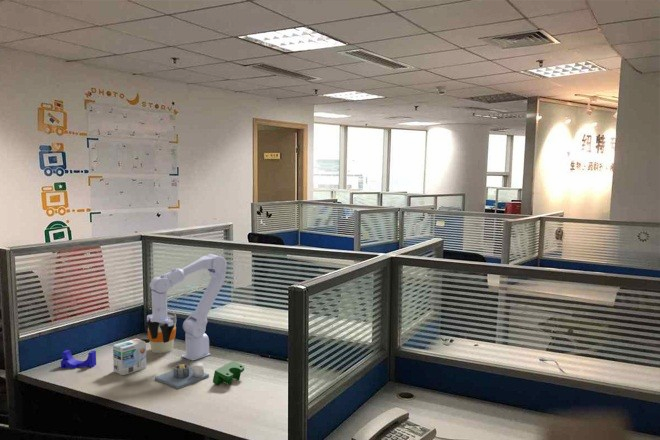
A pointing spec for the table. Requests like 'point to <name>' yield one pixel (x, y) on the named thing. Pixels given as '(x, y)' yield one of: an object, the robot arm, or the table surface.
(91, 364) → the cable clip
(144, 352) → the light bulb box
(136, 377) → the table surface
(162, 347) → the reusable coffee cup
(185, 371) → the ring
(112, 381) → the table surface
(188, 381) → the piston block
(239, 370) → the clamp
